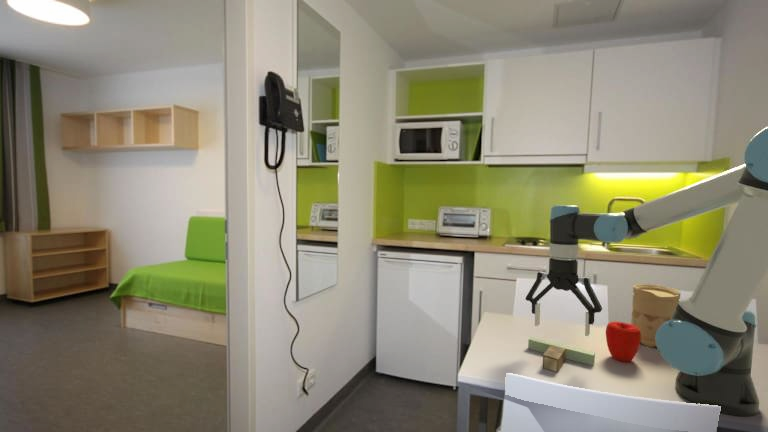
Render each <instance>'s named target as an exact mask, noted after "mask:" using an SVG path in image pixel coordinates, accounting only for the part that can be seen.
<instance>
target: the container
mask: <svg viewBox="0 0 768 432" xmlns="http://www.w3.org/2000/svg"><path fill="white" fill-rule="evenodd" d="M632 292H633V295H632V311H631V319H630V320H631V321H630V322H631V323H630V324H631V325H634V326H636V327H637V328H639V329H640V332H641V343H640V344H641V345H643V346H645V347H647V348H654V347H656V348H657V346H656V341H655V336H656V332H657V330H658V328H659V327H660V326H661V325H662V324H663V323H665V322H666V321H669V320H670V318H671V316H672V314H673V312H674V310H675V308H676V307H677V305H678V303H679V301H680V300H681V291H680V290H678V289H676V288H672V287H669V286H663V285H656V284H649V283H648V284H647V283H642V284H641V283H638V284H634V285H633V291H632Z"/></svg>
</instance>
